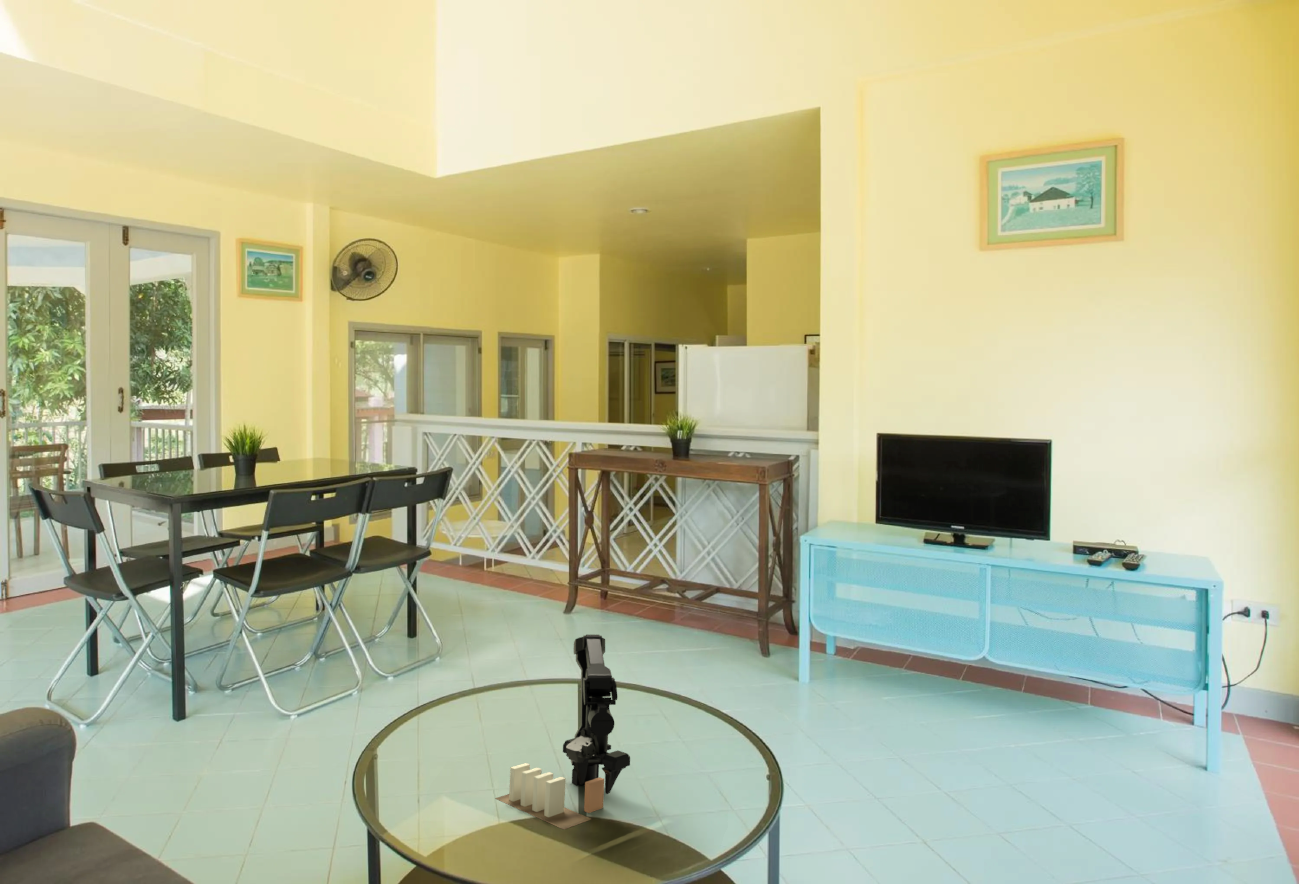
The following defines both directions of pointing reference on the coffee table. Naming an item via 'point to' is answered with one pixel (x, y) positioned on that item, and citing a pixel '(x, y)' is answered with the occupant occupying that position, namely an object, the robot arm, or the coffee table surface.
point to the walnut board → (559, 820)
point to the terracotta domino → (594, 795)
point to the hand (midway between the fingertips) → (594, 788)
